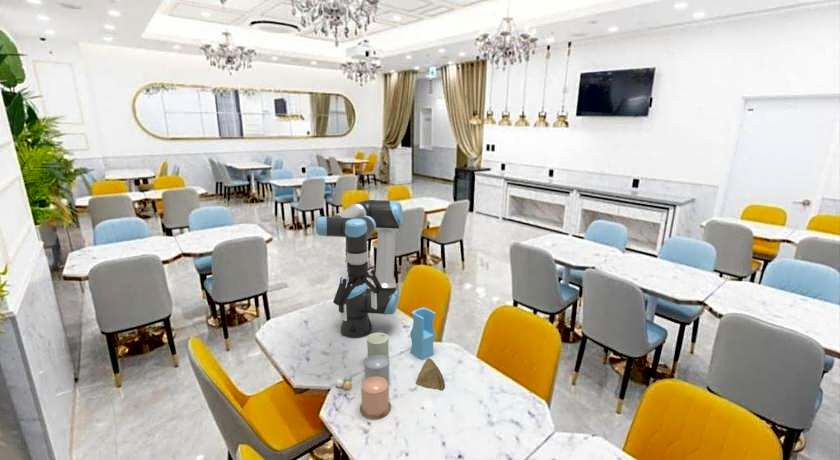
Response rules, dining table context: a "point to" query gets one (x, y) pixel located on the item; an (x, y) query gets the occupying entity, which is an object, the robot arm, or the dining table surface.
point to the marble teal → (347, 378)
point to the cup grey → (377, 367)
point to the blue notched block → (422, 333)
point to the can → (378, 344)
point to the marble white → (339, 383)
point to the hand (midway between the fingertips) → (359, 313)
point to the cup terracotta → (375, 396)
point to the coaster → (375, 416)
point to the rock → (430, 376)
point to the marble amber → (347, 385)
